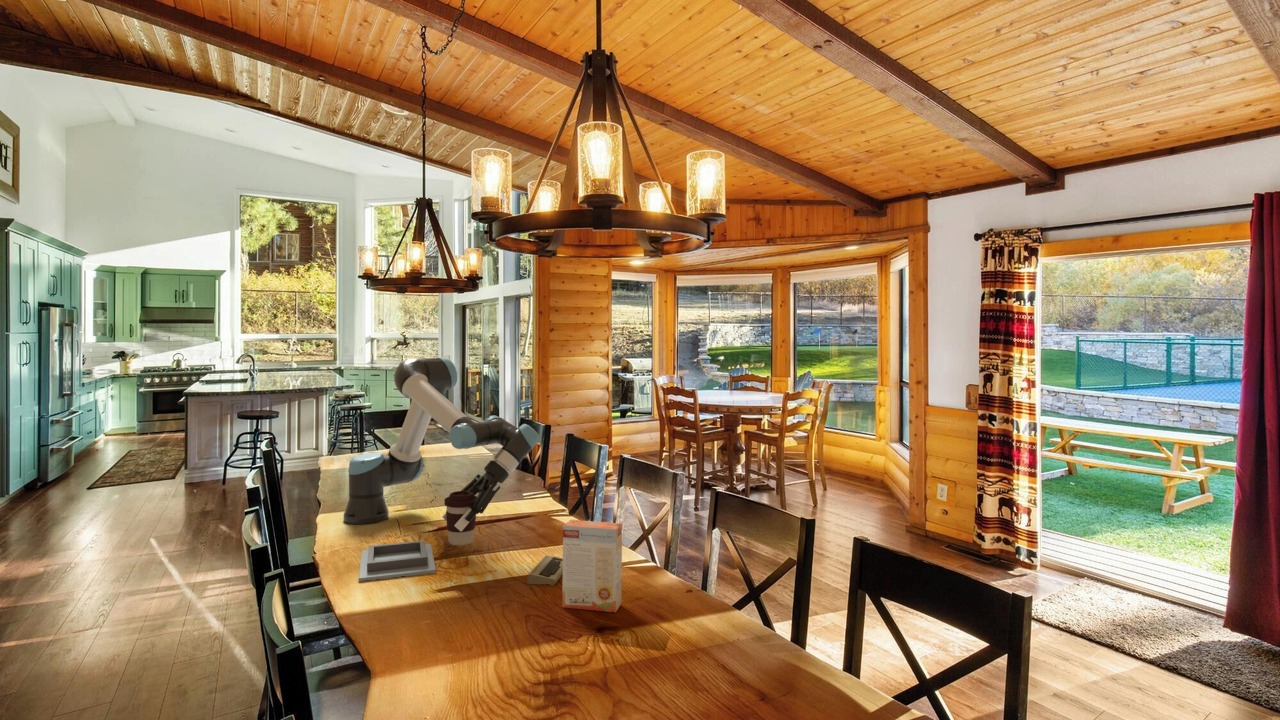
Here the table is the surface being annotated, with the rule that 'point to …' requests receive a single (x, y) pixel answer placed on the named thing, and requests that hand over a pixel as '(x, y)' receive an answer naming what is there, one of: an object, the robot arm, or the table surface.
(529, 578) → the computer
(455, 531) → the coffee cup
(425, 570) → the pocket plate
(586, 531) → the cracker box
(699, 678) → the table surface
